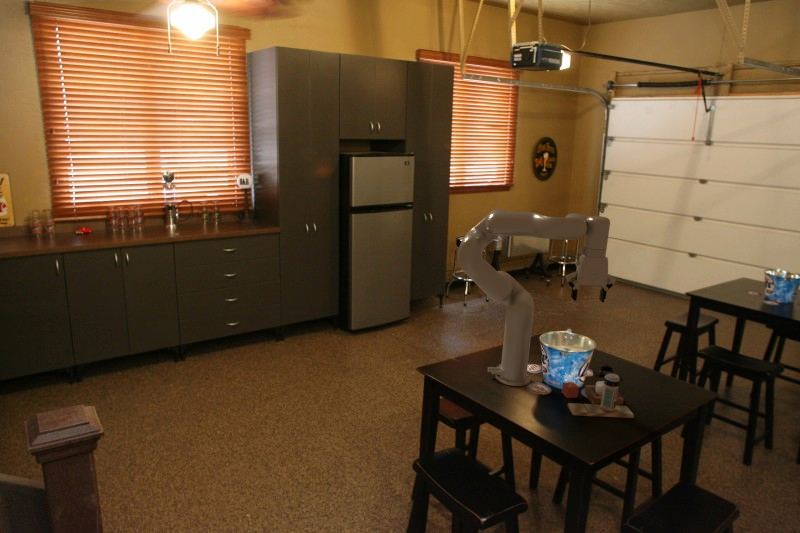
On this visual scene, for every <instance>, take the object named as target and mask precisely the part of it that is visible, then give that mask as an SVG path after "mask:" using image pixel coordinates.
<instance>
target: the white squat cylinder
mask: <svg viewBox="0 0 800 533" xmlns="http://www.w3.org/2000/svg"><path fill="white" fill-rule="evenodd" d="M595 385H596V388H595V394H596V395H597V396H602V394H603V387H604V380H597V381H596V383H595Z"/></svg>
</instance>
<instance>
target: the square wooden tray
mask: <svg viewBox="0 0 800 533" xmlns="http://www.w3.org/2000/svg"><path fill="white" fill-rule="evenodd" d="M595 388H596V384H595V385H594V384H593V385H592V384H591V385H590V384H585V385H584V392H583V393H584V395H585V394H586V395H585V396H586V397H587V400H589V402H590V404H597V405H601V400H602V396H597V395H596V394H595ZM624 401H625V400H624V397H623V396H622V395H621V394H620V393H619V392H618V394H617V401H616V405H619V406H624Z"/></svg>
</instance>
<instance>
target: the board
mask: <svg viewBox="0 0 800 533" xmlns="http://www.w3.org/2000/svg"><path fill="white" fill-rule="evenodd" d="M567 408H568V409H569V411H570V412H571V414H572V416H585V417H600V418H601V417H604V418H605V417H606V418H609V417H610V418H624V419H634V418H635V415H634V413H633V412H632V411H631V409H630V408H629V407H628V406H627V405H623V406H619V405H616V407H615V410H614V411H605V410H603V409H602V408H601V405H597V404H592V403H573V402H568V403H567Z"/></svg>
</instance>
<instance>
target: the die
mask: <svg viewBox="0 0 800 533" xmlns="http://www.w3.org/2000/svg"><path fill="white" fill-rule="evenodd" d="M579 389H580V386H578V385H577V384H576V383H575V382H574V381H567V382H566V381H565V382H562V386H561V394H562V393H563V394H564V395H563V394H562V395H563V396H564V397H566V398H567V399H574V398H575V399H576V398H578V397H579Z"/></svg>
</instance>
